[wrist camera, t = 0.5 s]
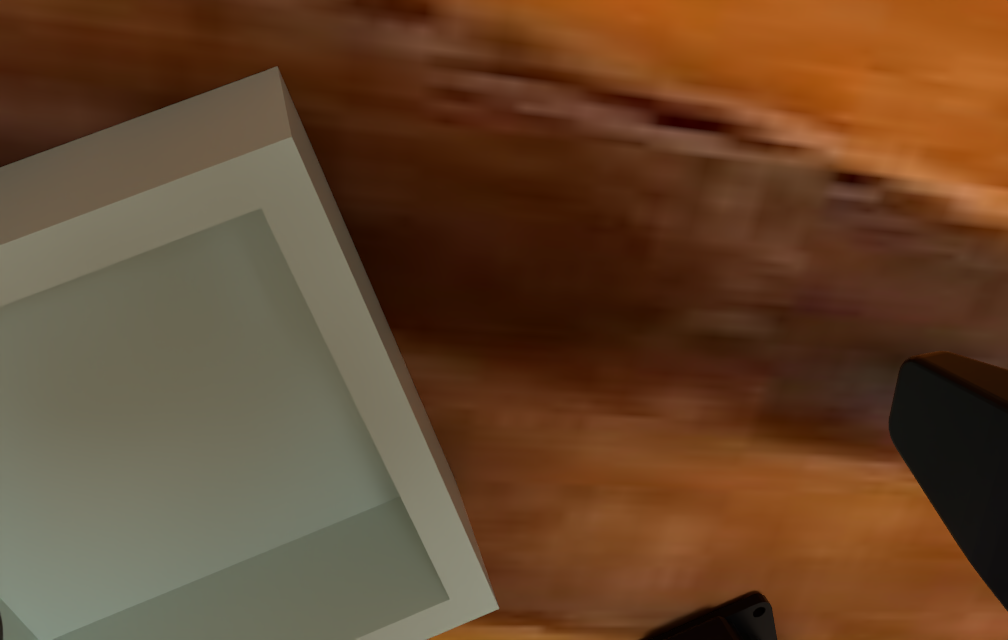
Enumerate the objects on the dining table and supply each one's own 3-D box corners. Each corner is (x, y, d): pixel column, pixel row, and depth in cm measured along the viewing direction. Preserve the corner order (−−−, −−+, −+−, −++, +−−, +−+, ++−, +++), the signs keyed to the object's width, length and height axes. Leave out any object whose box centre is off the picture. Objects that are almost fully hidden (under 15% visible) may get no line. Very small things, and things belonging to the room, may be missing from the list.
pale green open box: (455, 482, 26) (499, 608, 22) (32, 656, 25) (-6, 823, 21) (277, 66, 19) (291, 136, 15) (-318, 283, 18) (-479, 423, 14)
